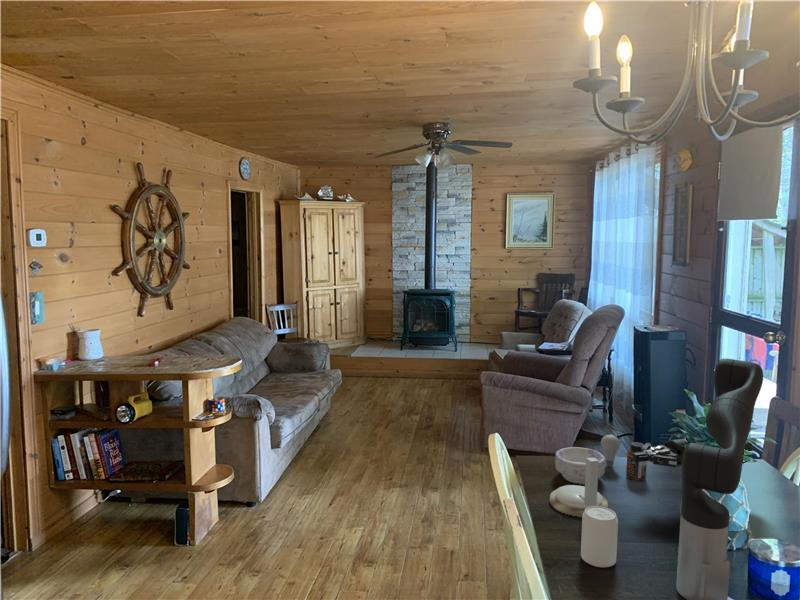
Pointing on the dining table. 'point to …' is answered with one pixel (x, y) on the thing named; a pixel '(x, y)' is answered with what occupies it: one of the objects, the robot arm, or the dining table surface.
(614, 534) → the beverage can
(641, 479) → the supplement bottle
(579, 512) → the dial base
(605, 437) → the lightbulb
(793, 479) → the dining table surface
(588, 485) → the dial
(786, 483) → the dining table surface
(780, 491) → the dining table surface
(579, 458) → the paper bowls
